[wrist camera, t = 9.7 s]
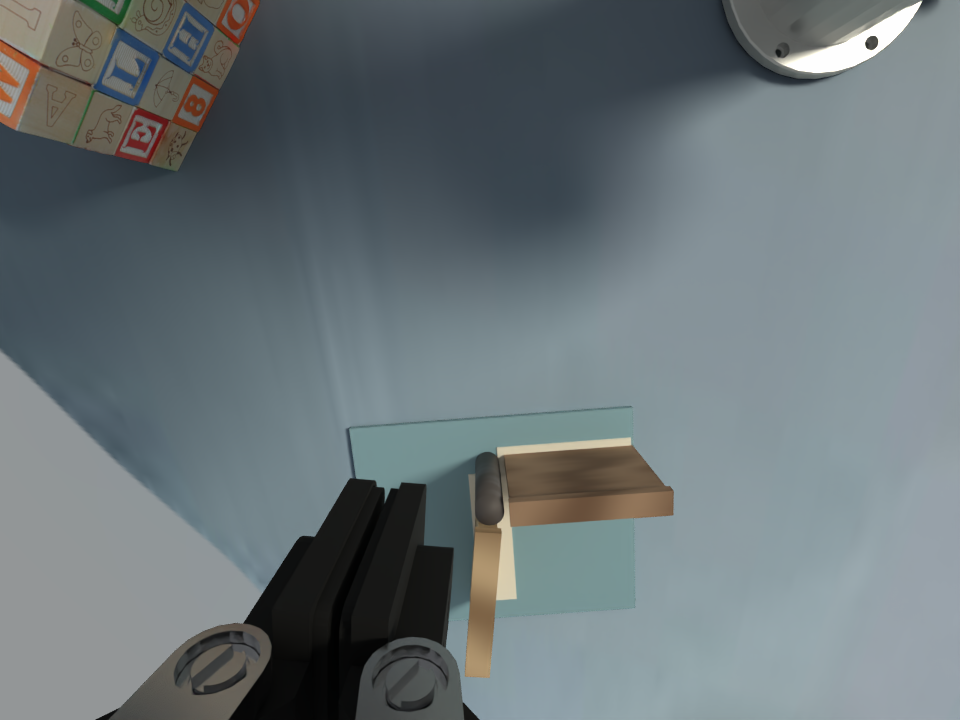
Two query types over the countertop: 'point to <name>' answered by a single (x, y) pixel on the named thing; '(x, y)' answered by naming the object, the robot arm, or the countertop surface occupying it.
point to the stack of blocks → (117, 71)
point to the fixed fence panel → (570, 487)
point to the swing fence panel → (482, 599)
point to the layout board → (524, 549)
